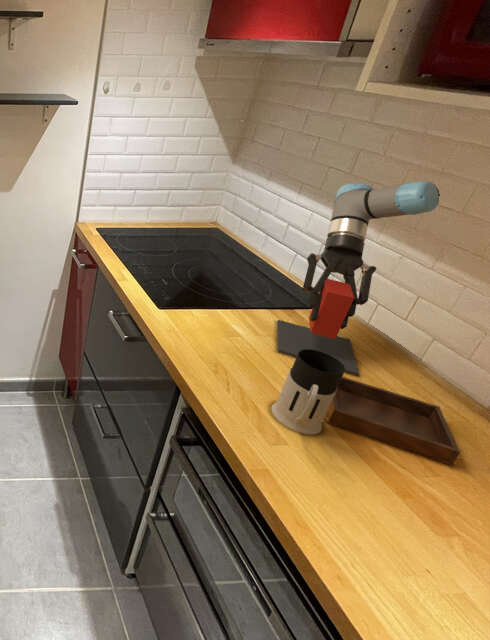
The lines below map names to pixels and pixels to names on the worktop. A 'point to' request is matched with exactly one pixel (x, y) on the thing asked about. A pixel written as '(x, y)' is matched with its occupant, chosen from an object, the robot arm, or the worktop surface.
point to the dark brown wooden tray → (393, 420)
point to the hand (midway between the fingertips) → (328, 323)
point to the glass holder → (308, 391)
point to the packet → (332, 308)
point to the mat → (314, 344)
